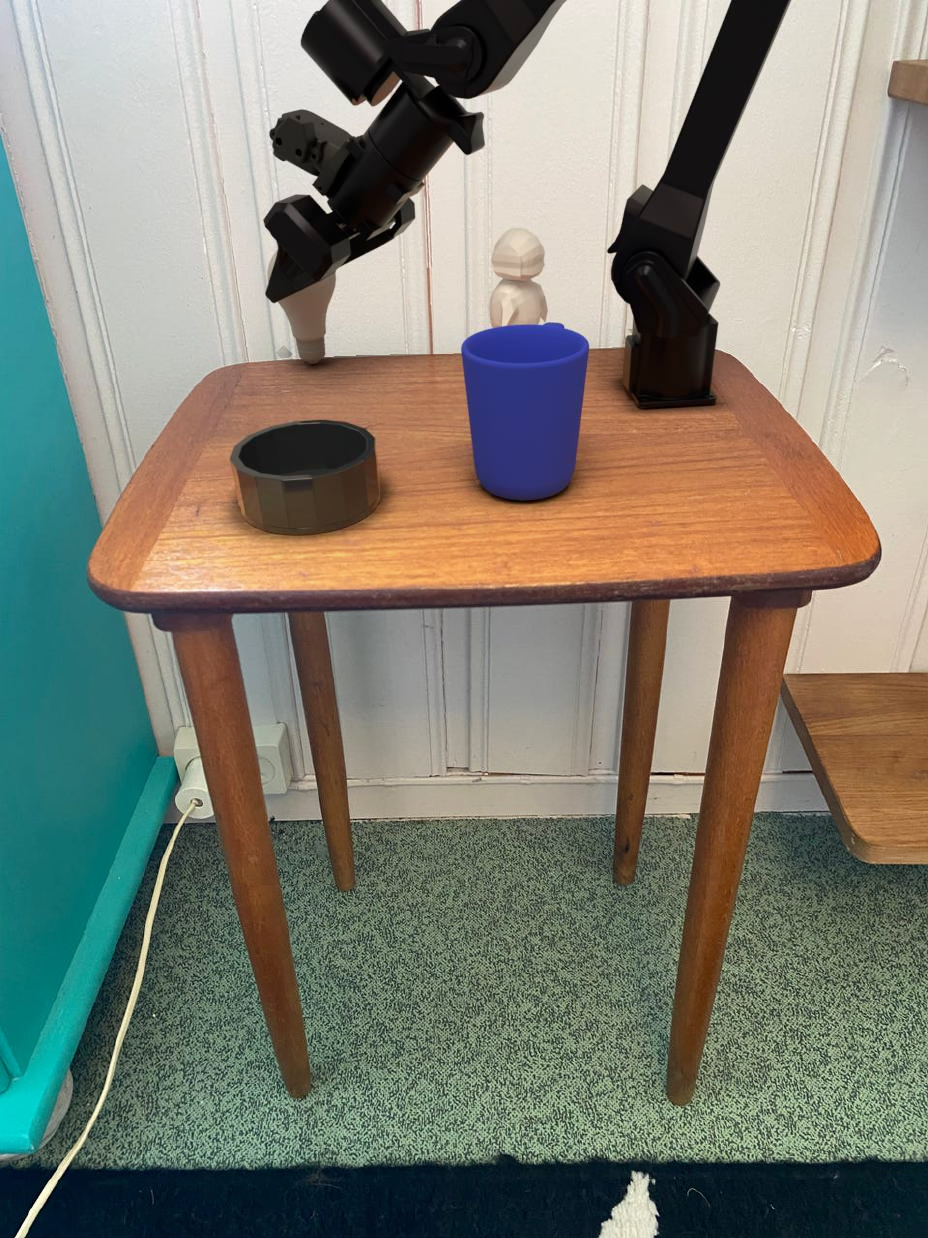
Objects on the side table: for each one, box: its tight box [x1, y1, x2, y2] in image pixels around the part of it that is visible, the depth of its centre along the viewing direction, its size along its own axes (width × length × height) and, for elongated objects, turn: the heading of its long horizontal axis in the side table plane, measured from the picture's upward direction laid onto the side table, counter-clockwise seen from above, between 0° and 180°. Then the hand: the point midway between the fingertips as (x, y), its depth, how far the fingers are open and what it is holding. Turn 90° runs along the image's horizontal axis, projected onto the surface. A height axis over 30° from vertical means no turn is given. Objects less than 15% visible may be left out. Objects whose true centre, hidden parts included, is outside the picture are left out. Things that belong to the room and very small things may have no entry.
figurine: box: [488, 227, 549, 328], centre depth 81 cm, size 8×5×12 cm, turn 146°
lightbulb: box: [266, 249, 337, 365], centre depth 84 cm, size 6×6×11 cm
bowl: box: [229, 419, 381, 536], centre depth 62 cm, size 10×10×4 cm
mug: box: [460, 321, 590, 501], centre depth 63 cm, size 8×12×10 cm
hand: (294, 284), depth 83 cm, fingers open, 9 cm apart
